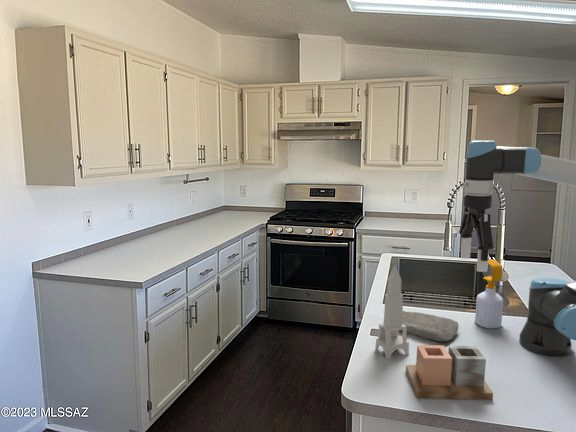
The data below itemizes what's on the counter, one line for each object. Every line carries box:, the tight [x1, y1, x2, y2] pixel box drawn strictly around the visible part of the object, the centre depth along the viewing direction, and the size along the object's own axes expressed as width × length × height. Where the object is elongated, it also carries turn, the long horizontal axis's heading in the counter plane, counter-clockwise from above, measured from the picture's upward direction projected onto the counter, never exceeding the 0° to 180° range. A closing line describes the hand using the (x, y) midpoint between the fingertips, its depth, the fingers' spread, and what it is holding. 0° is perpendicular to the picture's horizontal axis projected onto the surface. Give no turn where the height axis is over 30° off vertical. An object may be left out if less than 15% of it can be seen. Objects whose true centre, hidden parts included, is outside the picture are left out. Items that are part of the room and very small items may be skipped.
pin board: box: [405, 345, 494, 401], centre depth 124 cm, size 20×14×10 cm
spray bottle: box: [474, 259, 504, 330], centre depth 162 cm, size 9×9×25 cm
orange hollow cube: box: [415, 344, 452, 385], centre depth 124 cm, size 8×8×8 cm
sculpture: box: [375, 264, 410, 360], centre depth 141 cm, size 7×8×30 cm
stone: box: [401, 310, 459, 342], centre depth 160 cm, size 26×4×15 cm
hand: (473, 264), depth 131 cm, fingers open, 13 cm apart
